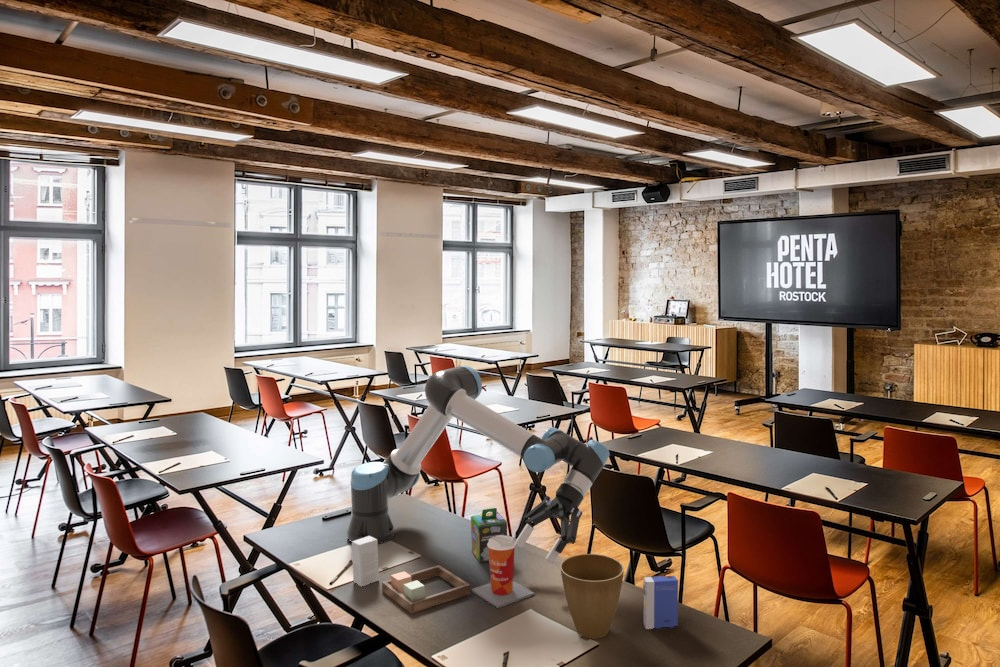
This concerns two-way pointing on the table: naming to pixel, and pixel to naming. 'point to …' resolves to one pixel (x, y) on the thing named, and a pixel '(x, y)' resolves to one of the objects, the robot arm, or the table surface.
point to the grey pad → (501, 600)
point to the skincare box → (365, 561)
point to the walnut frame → (432, 600)
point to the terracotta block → (400, 581)
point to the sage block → (414, 590)
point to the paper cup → (501, 563)
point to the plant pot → (592, 592)
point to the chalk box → (486, 531)
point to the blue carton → (660, 601)
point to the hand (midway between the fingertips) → (532, 553)
